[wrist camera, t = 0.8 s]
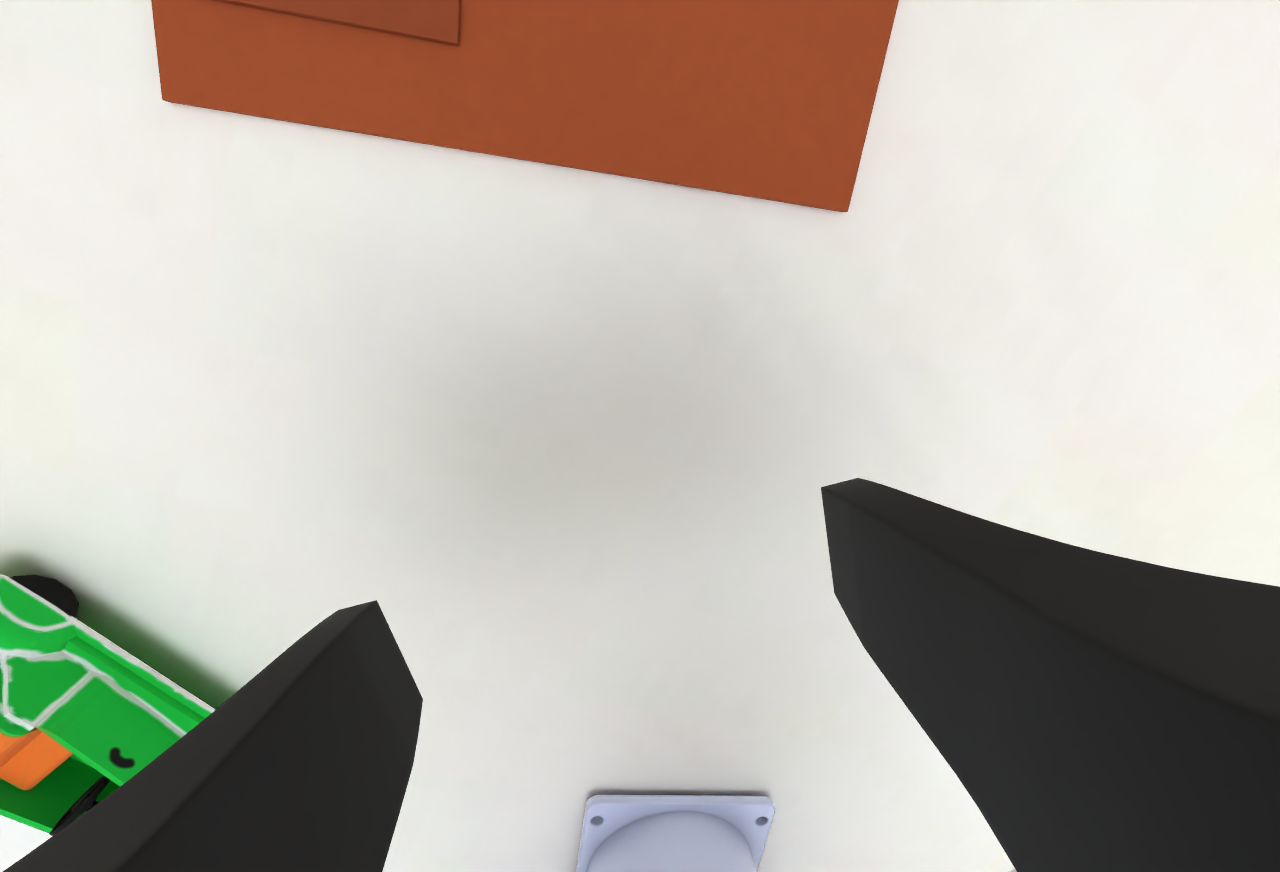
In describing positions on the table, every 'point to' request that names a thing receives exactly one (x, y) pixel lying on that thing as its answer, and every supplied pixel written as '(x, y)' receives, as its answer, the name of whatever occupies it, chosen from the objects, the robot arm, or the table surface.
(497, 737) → the table surface
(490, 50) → the rust cloth
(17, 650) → the toy car
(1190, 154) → the table surface
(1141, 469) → the table surface
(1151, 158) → the table surface
